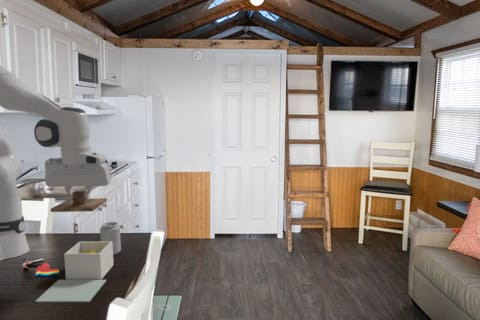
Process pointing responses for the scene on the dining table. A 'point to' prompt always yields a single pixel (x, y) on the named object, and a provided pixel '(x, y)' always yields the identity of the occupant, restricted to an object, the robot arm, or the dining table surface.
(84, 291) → the mat
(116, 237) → the can
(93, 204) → the lid
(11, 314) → the dining table surface
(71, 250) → the white open square box
